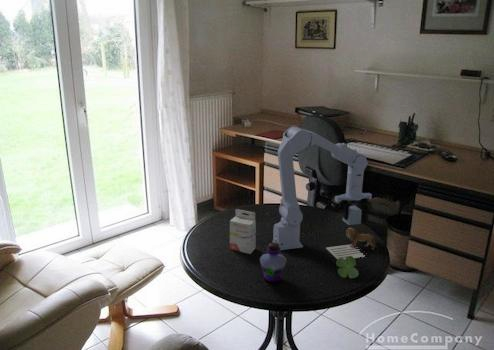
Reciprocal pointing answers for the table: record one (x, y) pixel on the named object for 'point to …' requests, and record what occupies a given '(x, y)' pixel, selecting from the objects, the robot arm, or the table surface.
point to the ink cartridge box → (243, 232)
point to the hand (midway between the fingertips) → (351, 217)
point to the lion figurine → (360, 237)
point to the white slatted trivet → (345, 251)
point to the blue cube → (353, 216)
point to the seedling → (347, 267)
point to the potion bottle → (273, 263)
